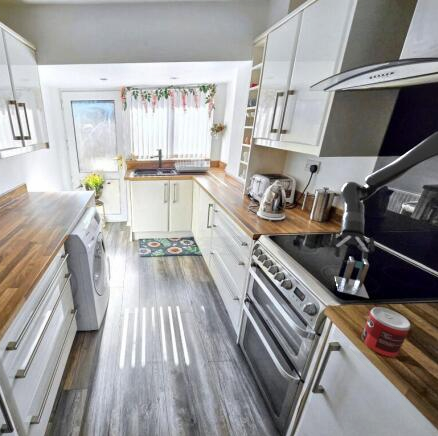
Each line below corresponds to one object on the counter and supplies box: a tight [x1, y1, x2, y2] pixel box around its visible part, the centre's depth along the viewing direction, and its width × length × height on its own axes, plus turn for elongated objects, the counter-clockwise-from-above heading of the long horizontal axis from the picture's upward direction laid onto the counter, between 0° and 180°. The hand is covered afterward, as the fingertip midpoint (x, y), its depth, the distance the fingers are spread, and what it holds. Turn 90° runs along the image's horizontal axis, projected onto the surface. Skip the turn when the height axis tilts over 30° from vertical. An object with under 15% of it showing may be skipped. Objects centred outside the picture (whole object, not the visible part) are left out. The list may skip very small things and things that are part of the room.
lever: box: [341, 259, 363, 269], centre depth 94 cm, size 12×5×2 cm, turn 149°
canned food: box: [361, 306, 411, 359], centre depth 67 cm, size 8×8×11 cm
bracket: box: [334, 256, 370, 299], centre depth 91 cm, size 11×9×13 cm
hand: (350, 258), depth 99 cm, fingers open, 8 cm apart
